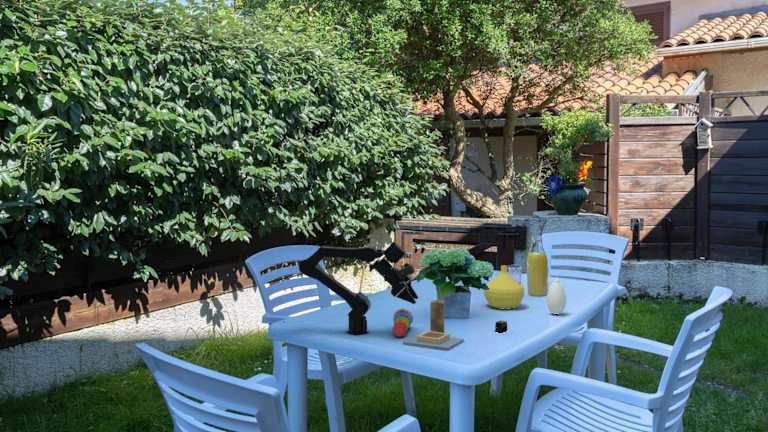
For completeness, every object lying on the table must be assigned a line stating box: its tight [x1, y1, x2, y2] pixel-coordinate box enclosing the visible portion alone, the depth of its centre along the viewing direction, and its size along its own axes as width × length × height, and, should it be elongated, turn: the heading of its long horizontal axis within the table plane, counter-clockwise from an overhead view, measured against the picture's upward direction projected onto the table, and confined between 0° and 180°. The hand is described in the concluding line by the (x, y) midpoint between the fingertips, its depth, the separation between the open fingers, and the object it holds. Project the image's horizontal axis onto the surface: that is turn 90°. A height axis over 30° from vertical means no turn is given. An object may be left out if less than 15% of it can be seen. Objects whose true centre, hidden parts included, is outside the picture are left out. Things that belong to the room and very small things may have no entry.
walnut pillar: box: [429, 299, 445, 333], centre depth 258 cm, size 5×5×13 cm
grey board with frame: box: [402, 330, 465, 351], centre depth 247 cm, size 18×14×3 cm
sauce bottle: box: [546, 273, 567, 313], centre depth 292 cm, size 8×8×18 cm
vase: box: [483, 264, 525, 309], centre depth 309 cm, size 18×18×19 cm
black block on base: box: [494, 320, 508, 333], centre depth 263 cm, size 12×7×5 cm, turn 139°
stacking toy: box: [392, 307, 414, 338], centre depth 263 cm, size 8×8×19 cm
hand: (416, 300), depth 259 cm, fingers open, 9 cm apart
